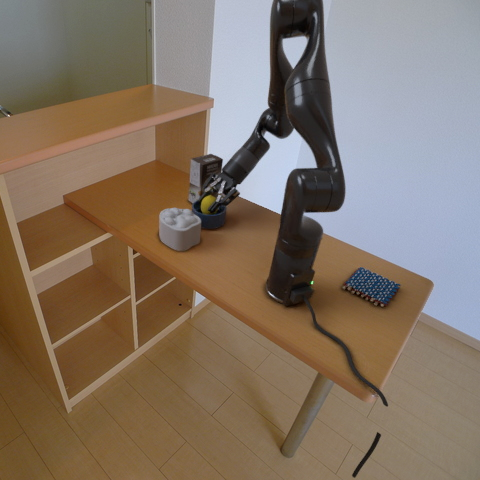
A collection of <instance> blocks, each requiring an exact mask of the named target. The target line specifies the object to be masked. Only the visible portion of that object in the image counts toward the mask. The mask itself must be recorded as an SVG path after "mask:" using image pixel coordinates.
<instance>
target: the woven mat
mask: <svg viewBox="0 0 480 480" xmlns="http://www.w3.org/2000/svg"><path fill="white" fill-rule="evenodd" d="M342 285H343V286H342V290H346V289H347V290H348V291H350V293H351V294H352V295H354V294H355V293H356V295H357V296H359V295H360V294H361V295H360V297H361V298H362V299H363V298H364V297H365V300H366V301H368V300H369V302H372V303H373V302H374V303H373V305H374V306H376V307H377V306H378V305H379V304H380V307H381V308H383V307H387V305H389V303H390V301H391V300H392V299H393V297H394V296H395V294H396V293H397V292H398V291H399V290H400V289H401V288H400V287H401V286H402V285H401V284H400V283H397V282H396V281H395V280H389V278H388V277H384V276H383V275H381V274H378V273H377V272H373V271H371V270H370V269H367V268H365V267H363V266H361V267H358V268H357V269H356V270H354V272H353V273H352V274H351V275H350V276H349V277H348V279H346V281H345V282H343V284H342Z"/></svg>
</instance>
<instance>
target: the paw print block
mask: <svg viewBox="0 0 480 480" xmlns="http://www.w3.org/2000/svg"><path fill="white" fill-rule="evenodd" d="M158 217H159V218H158V226H159V227H158V231H159V233H158V235H159V236H158V237H159V240H160V242H162V243H163V244H164V245H166V246H167V247H169V248H170V249H172V250H175V251H178V252H185V251H188V250H189V249H191V248H192V247H194V246H197V245H199V244H200V242H201V231H202V228H201V219H200V218H199V217H198V216H196V215H195V214H193V213H192V209H189V208H178V207H171V208H165V209H163V210H161V211H160V213H159V216H158Z"/></svg>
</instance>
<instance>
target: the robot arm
mask: <svg viewBox="0 0 480 480" xmlns="http://www.w3.org/2000/svg"><path fill="white" fill-rule="evenodd" d="M324 9H325V8H324V0H273V1H272V3H271V7H270V15H269V86H268V92H267V93H268V95H267V107H268V108H266V109H265V110H264V111H263V112H261V114H260V117H259V118H258V121H257V122H256V124H255V127H254V129H253V131H252V132H251V134H250V136H249V137H248V139H246V141H245V142H244V143H243V145H242V146H241V147H240V148H239V149H238V150H236V152H235V153H234V154H233V155H232V156H231V158H230V159H229V160H228V161H227V162H226V163H225V164H224V166H222V172H221V174H219V175H216V174H215V173H214V172H213V173H212V174H211V175H210V177H209V178H208V180H207V181H206V183H205V184H204V186H203V188H204V190H205V192H204V193H203V194H202V195H201V197H200V198H199V200H198V202H199V203H200V204H201V203H202V200H203V199H204V198H205V197H206V196H209V195H211V194H213V193H214V192H218V191H219V192H218V197H217V199H216V201H214V202H213V203H212V205H211V206H210V207H209V208H208V211H209V212H210V213H214V212H215V211H216V210H217V209H218V208H219V206H220V205H225V206H226V207H227V206H229V205H230V204H231V203H232V202H233V201H235V199H237V198H238V197H239V196H240V195H241V192H240V191H239V190H238V189H237V186H238V185H241V184H242V183H243V182H244V181H245V180H246V178H247V177H248V176H249V175H250V174H251V172H252V171H253V170H254V169H255V168H256V166H258V164H259V162H260V161H261V160H262V158H264V156H265V155H266V154H267V153H268V151H269V150H270V148H271V143H270V142H269V141H268V139H266V137H265V134H266V133H267V132H268V133H269V134H270V135H272V136H274V137H275V138H276V139H279V140H284V139H287V138H288V137H289V136H291V134H293V132H294V130H295V132H296V133H297V134H298V135H299V137H301V139H302V140H303V141H304V142H305V143H306V145H307V146H308V148H309V150H310V151H311V153H312V156H313V158H314V162H315V166H316V167H297V168H293V169H292V170H291V171H290V173H289V174H288V176H287V178H286V181H285V187H284V193H283V199H282V201H283V202H282V207H281V210H280V211H281V212H280V217H279V227H278V232H277V237H276V242H275V246H274V249H273V255H272V259H271V264H270V268H269V272H268V277H267V279H266V284H265V292H266V294H267V296H269V298H270V299H272V300H273V301H275V302H277V303H280V304H282V306H284V307H289V306H294V305H297V304H300V303H303V302H304V303H305V304H306V306H307V308H308V310H309V312H310V314H311V320H312V323H313V325H314V327H316V329H317V330H318V331H320V333H322V334H323V335H325V336H326V337H329V338H330V339H332V340H334V341H335V342H337V343H338V344H339V345H340V346H341V347H342V348H343V350H344V352H345V354H346V357H347V361H348V364H349V367H350V370H352V372H353V374H354V375H355V376H356V377H357V378H358V380H359V381H361V382H363V384H365V385H366V386H368V387H369V388H371V390H373V391H374V392H375V393H376V394H377V395H378V397H379V398H380V400H381V401H382V404H383V406H384V407H386V408H387V407H389V404H388V401H387V398H386V396H385V395H384V394H383V392H382V391H381V390H380V389H379V388H378V387H377V386H376V385H374V384H373V383H371V382H370V381H369V380H368V379H366V378H365V377H364V376H362V375H361V373H360V372H359V371H358V370H357V368H356V366H355V363H354V361H353V357H352V354H351V352H350V349H349V348H348V346H347V345H346V344H345V343H344V342H343V340H341V339H340V338H338V336H335V335H334V334H331V333H330V332H328V331H326V330H325V329H323V328H322V327H321V326H320V325H319V323H318V321H317V317H316V313H315V310H314V308H313V306H312V305H311V303H310V301H309V299H312V297H313V295H314V293H315V292H314V291H315V289H314V288H312V285H313V283H314V281H313V280H314V277H315V274H316V270H315V269H314V266H315V262H316V258H317V255H318V252H319V248H320V246H321V243H322V239H323V237H324V228H323V226H322V224H321V223H320V222H319V221H317V220H316V219H315V218H312V217H310V216H308V215H305V214H315V213H317V214H319V213H335V212H338V211H340V209H341V208H342V207H343V205H344V203H345V199H346V193H347V190H346V189H347V188H346V179H345V172H344V169H343V163H342V159H341V156H340V151H339V147H338V146H339V145H338V141H337V137H336V129H335V121H334V113H333V101H332V100H333V99H332V91H331V90H332V89H331V82H330V77H329V76H330V75H329V70H328V62H327V53H326V40H325V39H326V36H325V10H324ZM302 37H305V38H306V45H305V47H304V49H303V51H302V54H301V56H300V58H299V60H298V61H297V62H296V64H295V66H294V67H293V66H292V64H291V63H290V61H289V59H288V58H287V54H286V53H285V50H284V40H288V39H295V38H302ZM208 184H210V185H209V186H208ZM214 186H215V187H214ZM211 189H212V190H211ZM210 190H211V191H210ZM381 437H382V434H381V433H380V432H378V431H377V432H376V434H375V437H374V439H373V441H372V443H371V445H370V447H369V448H368V450H367V451H366V453H365V454H364V456H363V457H362V459H361V460H360V461H359V463H357V466H356V467H355V469H354V470H353V472H352V474H351V476H352V478H353V479H354V478H356V477H357V476H358V474H359V473H360V472H361V470H362V468H363V466H364V465H365V463H367V461H368V460H369V458H370V457H371V456H372V454H373V453H374V451H375V449H376V447H377V445H378V444H379V442H380V439H381Z"/></svg>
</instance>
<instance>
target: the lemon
mask: <svg viewBox="0 0 480 480" xmlns="http://www.w3.org/2000/svg"><path fill="white" fill-rule="evenodd" d="M214 201H216V198H215V197H213V196H211V195H209V196H206V197H205V198H204V199H203V200H202V203H201V211H202V213H203V214H206V215H215V214H216V213H217V211H218V209H217V210H216V211H215V212H214V213H210V212H209V211H208V208H209V207H210V206H211V205H212V203H213V202H214Z"/></svg>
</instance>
